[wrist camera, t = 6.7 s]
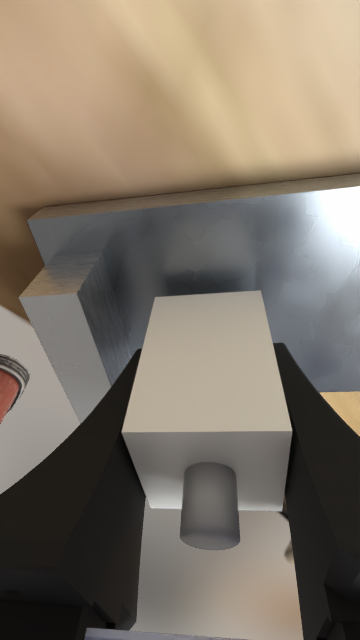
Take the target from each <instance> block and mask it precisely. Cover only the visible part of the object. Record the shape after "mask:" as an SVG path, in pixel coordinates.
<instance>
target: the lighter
mask: <svg viewBox="0 0 360 640" xmlns="http://www.w3.org/2000/svg"><path fill="white" fill-rule="evenodd" d="M29 379H30V373H29V371H28V369H27V368H26V367H25V366H24V365H23V364H22V363H21V362H19V361H18V360H16V359H14V358H12V357H10V356H6V355H2V354H0V424H1V422H2V420H3V419H4V418H5V417H6V416H7V415H8V414H9V413H10V411H11V410H12V408H13V407H14V406H15V405H16V403H17V402H18V400H19V398H20V397H21V395H22V393H23V392H24V389H25V387H26V385H27V383H28V381H29Z"/></svg>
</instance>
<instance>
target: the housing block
mask: <svg viewBox="0 0 360 640" xmlns="http://www.w3.org/2000/svg"><path fill="white" fill-rule="evenodd" d="M122 435H123V437H124V440H125V443H126V445H127V448H128V451H129V453H130V456H131V458H132V461H133V464H134V466H135V469H136V471H137V474H138V477H139V479H140V482H141V485H142V487H143V490H144V492H145V495H146V497H147V500H148V503H149V505H150V508H158V509H182V512H181V527H180V538H181V540H182V541H183V542H184V543H186V544H187V545H190V546H192V547H195V548H199V549H205V550H223V549H229V548H232V547H234V546H236V545H238V543H239V542H240V530H239V515H238V510H244V511H282V507H283V500H284V492H285V484H286V476H287V469H288V461H289V453H290V445H291V438H292V427H291V423H290V418H289V414H288V409H287V405H286V400H285V396H284V391H283V387H282V383H281V378H280V374H279V369H278V365H277V360H276V356H275V351H274V347H273V342H272V338H271V334H270V329H269V325H268V320H267V316H266V311H265V307H264V302H263V298H262V293H261V290H258V291H242V292H227V293H211V294H196V295H180V296H165V297H155V299H154V303H153V307H152V312H151V316H150V320H149V324H148V328H147V332H146V336H145V340H144V344H143V348H142V352H141V356H140V360H139V364H138V368H137V372H136V376H135V380H134V384H133V388H132V392H131V396H130V400H129V404H128V408H127V412H126V416H125V420H124V424H123V428H122Z"/></svg>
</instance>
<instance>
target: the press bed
mask: <svg viewBox="0 0 360 640" xmlns="http://www.w3.org/2000/svg"><path fill="white" fill-rule="evenodd" d="M27 222H28V225H29V227H30V230H31V232H32V234H33V237H34V239H35V242H36V244H37V247H38V249H39V252H40V254H41V257H42V259H43V261H44V264H45V267H44V268H43V269H42V270H41V271H40V273H39V274H38V275H37V276H36V277H35V278H34V280H33V281H32V282H31V283H30V284H29V286H28V287H27V288H26V289H25V290H24V291H23V293H22V294H21V295H20V296H19V297H18V298H19V300H20V302H21V304H22V306H23V308H24V310H25V312H26V314H27V316H28V318H29V320H30V322H31V324H32V326H33V328H34V330H35V332H36V334H37V336H38V338H39V340H40V342H41V344H42V346H43V348H44V350H45V352H46V354H47V356H48V359H49V360H50V363H51V365H52V367H53V369H54V371H55V373H56V375H57V377H58V379H59V381H60V383H61V385H62V387H63V389H64V391H65V393H66V395H67V397H68V399H69V401H70V403H71V405H72V407H73V409H74V411H75V413H76V415H77V417H78V419H79V421H80V424H81V423H82V422H83V421H84V420H85V419H86V417H87V416H88V415H89V414H90V413H91V412H92V410H93V409H94V408H95V407H96V406H97V404H98V403H99V402H100V401H101V399H102V398H103V397H104V396H105V394H106V393H107V392H108V390H109V389H110V388H111V386H112V385H113V384H114V382H115V381H116V379H117V378H118V377H119V375H120V374H121V372H122V371H123V369H124V368H125V367H126V365H127V364H128V362H129V361H130V359H131V357H132V356H133V354H134V353H135V351H136V350H137V349H142V348H143V344H144V340H145V336H146V332H147V328H148V324H149V320H150V316H151V312H152V307H153V303H154V299H155V297H165V296H180V295H196V294H211V293H227V292H242V291H258V290H261V293H262V298H263V302H264V307H265V311H266V316H267V320H268V325H269V329H270V334H271V338H272V342H273V343H284V344H285V345H286V346H287V348H288V350H289V352H290V353H291V355H292V356H293V358H294V359H295V361H296V363H297V364H298V365H299V367H300V368H301V370H302V371H303V373H304V374H305V375H306V377H307V378H308V379H309V381H310V382H311V383H312V384H313V386H314V387H315V388H316V390H317V391H318V392H351V391H360V173H359V174H350V175H340V176H331V177H322V178H312V179H303V180H293V181H284V182H275V183H265V184H256V185H246V186H237V187H228V188H218V189H209V190H199V191H190V192H181V193H171V194H162V195H152V196H143V197H134V198H124V199H115V200H106V201H96V202H87V203H77V204H68V205H59V206H49V207H43V208H41V209H40V210H39V211H38V212H37V213H35V214H34V215H33V216H32V217H30V218H29V219H28V220H27Z"/></svg>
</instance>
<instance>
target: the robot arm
mask: <svg viewBox="0 0 360 640" xmlns="http://www.w3.org/2000/svg"><path fill="white" fill-rule="evenodd" d="M273 347H274V351H275V356H276V360H277V365H278V369H279V374H280V378H281V383H282V387H283V391H284V396H285V400H286V405H287V409H288V414H289V418H290V423H291V427H292V438H291V445H290V453H289V461H288V469H287V476H286V484H285V497H286V504H287V511H288V518H289V526H290V533H291V540H292V548H293V555H294V563H295V571H296V579H297V587H298V595H299V604H300V612H301V620H302V629H303V638H304V640H360V436H358V435H357V434H356V433H355V432H354V431H353V430H352V429H351V428H350V427H349V426H348V425H347V424H346V423H345V421H344V420H343V419H342V418H341V417H340V416H339V415H338V414H337V413H336V412H335V411H334V410H333V408H332V407H331V406H330V405H329V404H328V403H327V402H326V400H325V399H324V398H323V397H322V396H321V394H320V393H319V392H318V391H317V390H316V388H315V387H314V386H313V384H312V383H311V382H310V381H309V379H308V378H307V377H306V375H305V374H304V373H303V371H302V370H301V368H300V367H299V365H298V364H297V363H296V361H295V359H294V358H293V356H292V355H291V353H290V352H289V350H288V348H287V346H286V345H285V344H284V343H273ZM141 352H142V349H137V350H136V351H135V353H134V354H133V356H132V357H131V359H130V361H129V362H128V364H127V365H126V367H125V368H124V369H123V371H122V372H121V374H120V375H119V377H118V378H117V379H116V381H115V382H114V384H113V385H112V386H111V388H110V389H109V390H108V392H107V393H106V394H105V396H104V397H103V398H102V399H101V401H100V402H99V403H98V404H97V406H96V407H95V408H94V409H93V410H92V412H91V413H90V414H89V415H88V416H87V417H86V419H85V420H84V421H83V422H82V423H81V424H80V425H79V426H78V427H77V428H76V430H75V431H74V432H73V433H72V434H71V435H70V436H69V437H68V438H67V439H66V440H65V441H64V442H63V443H62V444H60V445H59V446H58V447H57V448H56V449H55V450H54V451H53V452H52V453H51V454H50V455H49V456H48V457H47V458H46V459H44V460H43V461H42V462H41V463H40V464H38V465H37V466H36V467H35V468H34V469H32V470H31V471H30V472H29V473H28V474H27V475H25V476H24V477H23V478H22V479H20V480H19V481H18V482H17V483H15V484H14V485H13V486H11V487H10V488H9V489H7V490H6V491H5V492H3V493H2V494H0V640H246V639H231V638H218V637H205V636H192V635H178V634H165V633H152V632H138V631H129V630H130V629H131V628H132V626H133V625H134V624H135V622H136V616H137V598H138V582H139V566H140V554H141V553H140V552H141V540H142V529H143V518H144V507H145V498H146V495H145V492H144V490H143V487H142V485H141V482H140V479H139V477H138V474H137V471H136V469H135V466H134V464H133V461H132V458H131V456H130V453H129V451H128V448H127V445H126V443H125V440H124V437H123V435H122V428H123V424H124V420H125V416H126V412H127V408H128V404H129V400H130V396H131V392H132V388H133V384H134V380H135V376H136V372H137V368H138V364H139V360H140V356H141Z"/></svg>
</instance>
